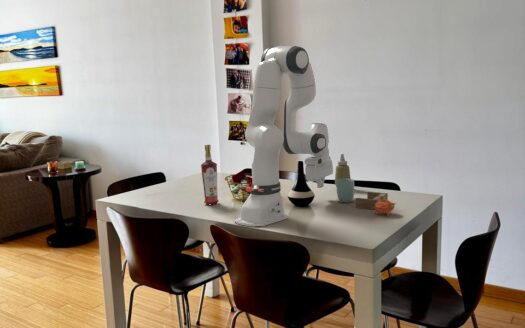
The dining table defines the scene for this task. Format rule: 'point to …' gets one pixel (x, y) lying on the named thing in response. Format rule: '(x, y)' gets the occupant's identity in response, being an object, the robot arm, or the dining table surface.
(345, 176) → the squeeze bottle
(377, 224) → the dining table surface
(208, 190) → the liquor
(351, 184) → the cup
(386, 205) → the orange rounded figure
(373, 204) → the dock
